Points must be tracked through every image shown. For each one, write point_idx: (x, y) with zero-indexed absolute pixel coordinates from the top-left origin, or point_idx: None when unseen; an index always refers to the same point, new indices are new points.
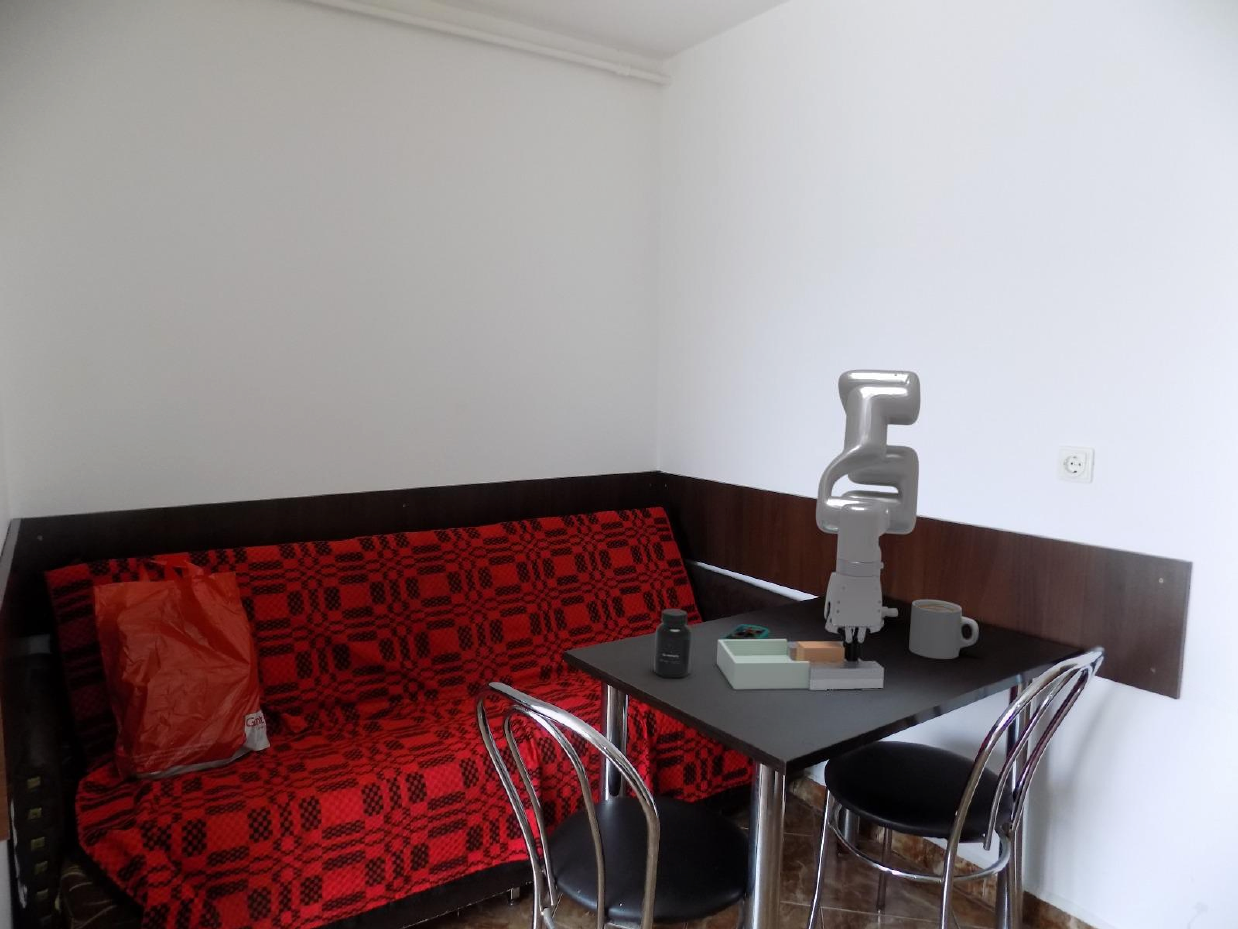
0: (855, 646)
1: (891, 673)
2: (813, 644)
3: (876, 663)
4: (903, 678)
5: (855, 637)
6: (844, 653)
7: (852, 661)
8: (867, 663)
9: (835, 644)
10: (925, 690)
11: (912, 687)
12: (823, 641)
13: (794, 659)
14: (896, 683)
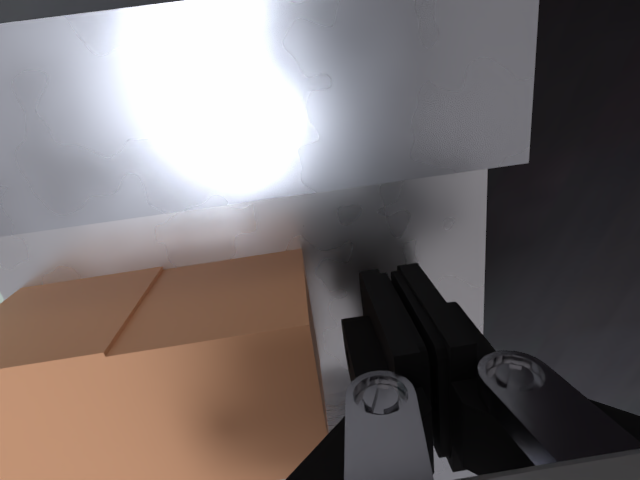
0: (433, 444)
1: (610, 223)
2: (65, 437)
3: None
4: (629, 288)
5: (478, 460)
6: (347, 361)
7: None
8: (444, 472)
9: (274, 409)
10: (636, 410)
11: (602, 388)
12: (171, 346)
13: (5, 249)
14: (557, 353)
